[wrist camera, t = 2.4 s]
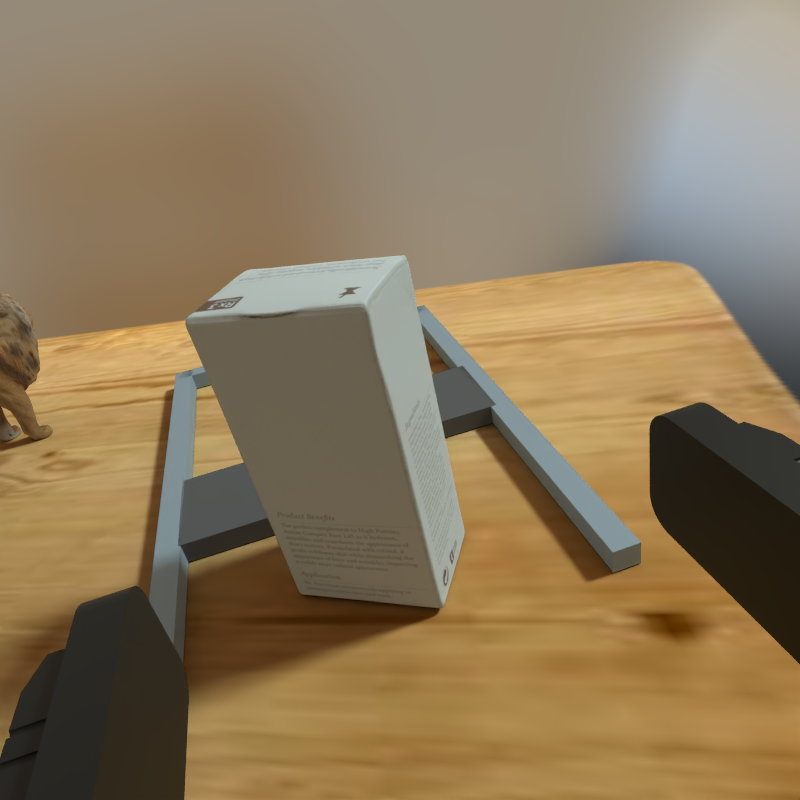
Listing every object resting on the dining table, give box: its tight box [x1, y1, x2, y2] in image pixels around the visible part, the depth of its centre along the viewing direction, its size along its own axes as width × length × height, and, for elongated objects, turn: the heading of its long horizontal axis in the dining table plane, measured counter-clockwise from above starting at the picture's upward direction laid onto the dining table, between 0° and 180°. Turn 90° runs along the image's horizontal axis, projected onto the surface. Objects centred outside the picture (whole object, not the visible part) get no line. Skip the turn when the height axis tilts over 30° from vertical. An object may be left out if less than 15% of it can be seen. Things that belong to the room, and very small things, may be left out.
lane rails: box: [149, 305, 641, 664], centre depth 33 cm, size 27×18×1 cm
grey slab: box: [432, 366, 496, 438], centre depth 34 cm, size 5×5×1 cm
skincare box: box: [186, 256, 465, 608], centre depth 22 cm, size 6×4×12 cm
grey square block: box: [179, 463, 275, 562], centre depth 30 cm, size 5×5×1 cm
